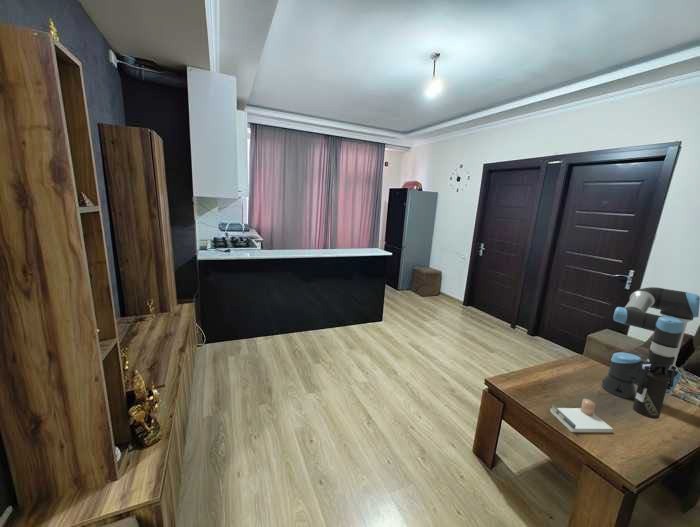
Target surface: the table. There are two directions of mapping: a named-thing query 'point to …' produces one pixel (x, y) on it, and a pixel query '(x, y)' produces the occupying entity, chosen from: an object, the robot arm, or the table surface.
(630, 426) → the table surface
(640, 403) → the container
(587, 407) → the peach rounded cylinder
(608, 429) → the thin white panel
